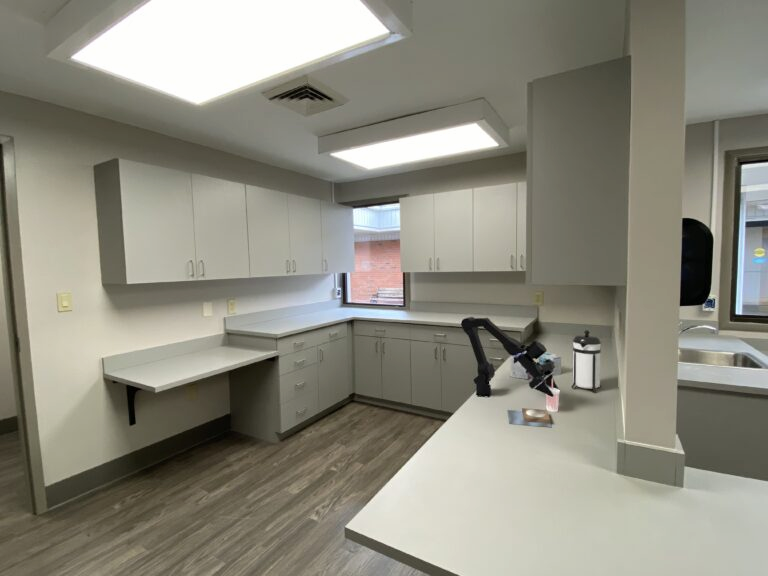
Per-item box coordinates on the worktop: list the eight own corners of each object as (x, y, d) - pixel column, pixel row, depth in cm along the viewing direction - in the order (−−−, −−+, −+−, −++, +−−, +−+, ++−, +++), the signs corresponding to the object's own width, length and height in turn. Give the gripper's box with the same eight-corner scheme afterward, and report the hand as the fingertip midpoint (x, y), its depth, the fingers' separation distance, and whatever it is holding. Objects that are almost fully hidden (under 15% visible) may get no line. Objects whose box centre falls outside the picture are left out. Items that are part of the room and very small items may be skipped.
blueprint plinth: (509, 423, 152) (509, 418, 152) (507, 410, 166) (507, 405, 165) (551, 427, 148) (551, 422, 148) (546, 413, 161) (546, 408, 161)
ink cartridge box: (531, 377, 210) (531, 352, 209) (528, 380, 206) (528, 354, 205) (513, 374, 216) (513, 349, 215) (510, 377, 212) (510, 351, 211)
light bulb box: (538, 371, 221) (538, 353, 220) (546, 369, 224) (546, 351, 223) (553, 376, 212) (553, 357, 211) (561, 374, 214) (561, 355, 214)
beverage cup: (551, 413, 161) (551, 381, 160) (541, 408, 167) (541, 377, 166) (563, 411, 163) (563, 380, 162) (553, 406, 169) (553, 376, 168)
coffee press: (611, 392, 183) (612, 332, 181) (578, 393, 183) (579, 333, 181) (592, 381, 200) (593, 326, 198) (562, 382, 201) (563, 327, 198)
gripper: (536, 359, 159) (564, 389, 152) (549, 350, 173) (574, 377, 167) (517, 374, 164) (544, 404, 158) (531, 364, 179) (556, 391, 172)
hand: (555, 393), depth 164 cm, fingers open, 8 cm apart
